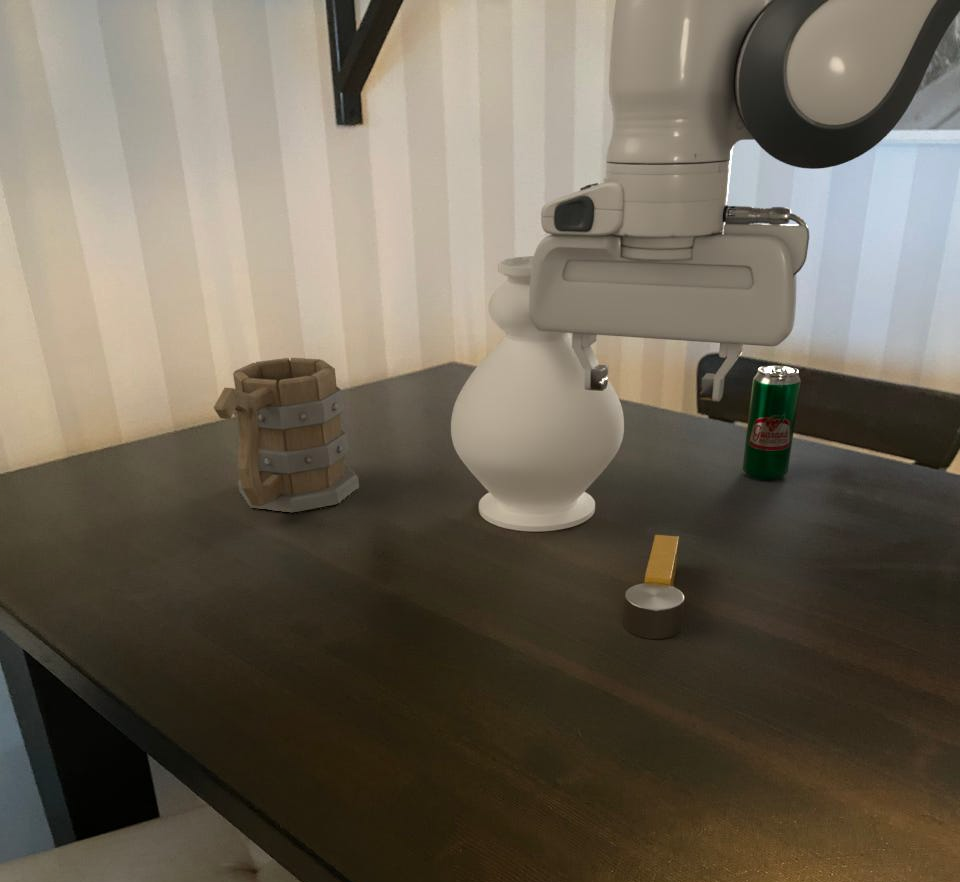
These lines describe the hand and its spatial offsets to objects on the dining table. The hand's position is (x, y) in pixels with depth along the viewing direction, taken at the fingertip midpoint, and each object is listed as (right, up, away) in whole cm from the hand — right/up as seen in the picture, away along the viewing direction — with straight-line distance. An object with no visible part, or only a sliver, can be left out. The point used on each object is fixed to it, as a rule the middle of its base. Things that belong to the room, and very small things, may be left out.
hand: (652, 394), depth 75 cm
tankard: (-36, -5, +29) cm, 46 cm away
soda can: (+19, -1, +33) cm, 38 cm away
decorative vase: (-8, -6, +26) cm, 28 cm away
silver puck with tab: (+2, -16, +7) cm, 18 cm away
